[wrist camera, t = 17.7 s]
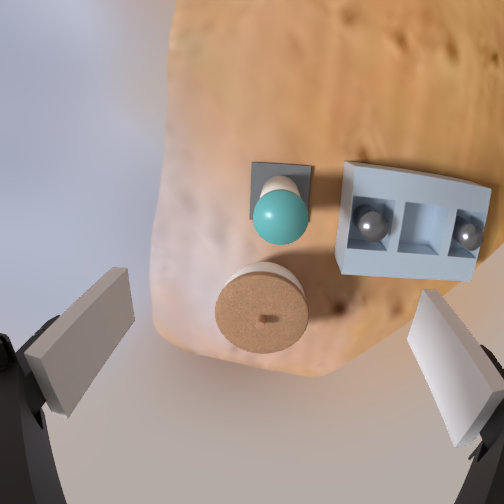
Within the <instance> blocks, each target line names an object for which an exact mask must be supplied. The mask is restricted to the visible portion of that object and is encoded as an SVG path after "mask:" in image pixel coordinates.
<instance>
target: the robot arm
mask: <svg viewBox="0 0 504 504" xmlns="http://www.w3.org/2000/svg"><path fill="white" fill-rule="evenodd" d="M134 321H135V317H134V311H133V305H132V298H131V291H130V284H129V277H128V269H127V268H117V267H113V268H111V269H110V270H109V271H108V272H107V273H106V274H105V275H104V276H103V277H101V278H100V279H99V280H98V281H97V282H96V283H95V284H94V285H93V286H91V288H89V289H88V290H87V291H86V292H85V293H84V294H83V295H82V296H81V297H80V298H79V299H78V300H76V301H75V302H74V303H73V304H72V305H71V306H70V307H69V308H68V309H67V310H66V311H65V312H64V313H63V314H62V315H61V316H60V315H58V316H56V317H54V318H52V319H50V320H48V321H47V322H46V323H45V324H44V325H43V326H42V327H41V328H40V330H38V331H37V332H36V333H35V335H34V336H32V337H31V338H30V339H29V340H28V341H27V342H26V343H25V344H24V345H23V346H22V347H21V348H20V349H19V350H18V351H17V352H16V353H15V351H14V349H13V346H12V344H11V341H10V339H9V337H8V336H7V335H6V334H2V333H0V504H67V503H66V500H65V497H64V494H63V491H62V487H61V484H60V481H59V477H58V474H57V470H56V466H55V462H54V458H53V454H52V450H51V445H50V441H49V436H48V431H47V426H46V420H45V415H44V412H43V410H42V408H41V407H42V406H43V404H44V403H45V402H47V404H48V406H49V408H50V410H51V412H52V413H55V414H57V415H60V416H62V417H65V418H67V419H68V418H69V417H70V415H71V413H72V412H73V410H74V409H75V407H76V406H77V404H78V403H79V401H80V400H81V398H82V396H83V395H84V393H85V392H86V390H87V389H88V387H89V386H90V384H91V383H92V381H93V380H94V378H95V377H96V376H97V374H98V372H99V371H100V370H101V368H102V367H103V365H104V364H105V362H106V361H107V359H108V358H109V356H110V355H111V354H112V352H113V351H114V349H115V348H116V346H117V345H118V343H119V342H120V341H121V339H122V338H123V336H124V335H125V333H126V332H127V331H128V329H129V328H130V327H131V325H132V324H133V322H134ZM407 341H408V343H409V345H410V347H411V349H412V351H413V353H414V355H415V357H416V359H417V362H418V364H419V366H420V368H421V370H422V372H423V374H424V377H425V379H426V381H427V383H428V385H429V387H430V390H431V392H432V394H433V397H434V399H435V401H436V403H437V406H438V408H439V410H440V413H441V415H442V417H443V420H444V422H445V425H446V427H447V430H448V432H449V435H450V437H451V440H452V443H453V445H454V448H457V447H462V446H466V445H470V444H472V443H473V441H474V440H475V439H476V437H477V436H478V434H479V433H480V435H481V437H482V441H481V443H480V444H479V445H478V447H477V448H476V449H475V450H474V452H473V453H472V454H471V455H470V457H469V458H468V459H469V460H470V459H471V458H472V457H473V456H474V459H473V462H472V464H471V467H470V470H469V472H468V474H467V477H466V479H465V482H464V484H463V486H462V488H461V491H460V493H459V495H458V497H457V499H456V501H455V503H454V504H504V369H502V366H501V365H500V364H499V362H497V359H496V358H495V356H494V355H493V354H492V352H491V351H489V350H488V349H487V348H486V347H484V346H483V345H479V344H478V342H477V341H476V339H475V338H474V337H473V336H472V334H471V333H470V331H469V330H468V329H467V328H466V326H465V325H464V323H463V322H462V321H461V320H460V318H459V317H458V316H457V314H456V313H455V312H454V311H453V309H452V308H451V307H450V306H449V304H448V303H447V302H446V301H445V299H444V298H443V297H442V296H441V295H440V293H439V292H438V291H437V290H432V289H422V293H421V296H420V300H419V303H418V307H417V310H416V313H415V317H414V320H413V323H412V326H411V329H410V332H409V335H408V338H407Z"/></svg>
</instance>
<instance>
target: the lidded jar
mask: <svg viewBox="0 0 504 504" xmlns="http://www.w3.org/2000/svg"><path fill="white" fill-rule="evenodd" d="M215 318H216V322H217V325H218V327H219V329H220V331H221V333H222V334H223V335H224V336H225V338H226V339H228V340H229V341H230V342H231V343H232V344H234V345H235V346H237V347H239V348H241V349H243V350H246V351H249V352H254V353H261V354H262V353H274V352H278V351H281V350H283V349H286V348H288V347H290V346H291V345H293V344H294V343H295V342H296V341H298V340H299V338H300V337H301V336H302V335H303V333H304V331H305V330H306V327H307V324H308V319H309V310H308V305H307V301H306V297H305V293H304V291H303V288H302V286H301V284H300V282H299V281H298V279H297V278H296V277H295V276H294V274H293V273H292V272H290V271H289V270H288V269H286V268H285V267H283V266H281V265H278V264H276V263H272V262H255V263H251V264H248V265H245V266H244V267H242V268H240V269H239V270H237V271H236V272H235V273H234V274H233V275H232V276H231V277H230V278H229V280H228V281H227V282H226V284H225V286H224V287H223V290H222V291H221V293H220V295H219V297H218V300H217V302H216V307H215Z"/></svg>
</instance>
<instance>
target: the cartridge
mask: <svg viewBox="0 0 504 504" xmlns="http://www.w3.org/2000/svg"><path fill="white" fill-rule="evenodd" d="M253 223H254V227H255V229H256V231H257V233H258V234H259V235H260V236H261V237H262V238H263V239H264V240H266V241H268V242H270V243H273V244H278V245H284V244H289V243H292V242H294V241H296V240H297V239H299V238H300V237H301V236H302V234H303V233H304V232H305V230H306V228H307V225H308V212H307V208H306V206H305V203H304V202H303V200H302V199H301V197H300V194H299V191H298V188H297V185H296V184H295V182H294V181H293V180H292V179H290V178H289V177H286V176H282V175H278V176H274V177H271V178H270V179H268V180H267V181H266V182H265V184H264V185H263V188H262V192H261V195H260V199H259V200H258V202H257V204H256V206H255V209H254V213H253Z"/></svg>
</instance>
